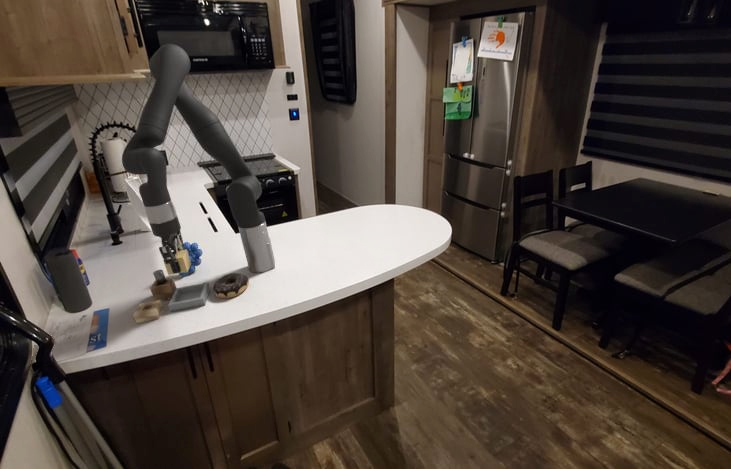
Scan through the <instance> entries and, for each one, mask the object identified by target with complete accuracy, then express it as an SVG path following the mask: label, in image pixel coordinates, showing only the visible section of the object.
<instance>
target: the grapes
mask: <svg viewBox="0 0 731 469" xmlns="http://www.w3.org/2000/svg"><path fill="white" fill-rule="evenodd" d="M183 244H184V247H182V248H183V250H186V249H187V251H188V255H189V258H190V261H191V265H190V267H189V270H188V272H183V273H178V274H179V276H180V277H184V276H186V275H187V274H190V275H191V274H193V273H195V271H196V267H199V266H200V265H201V264H202V259H201V256H202V255H203V250H202V248H199V245H198V243H197V242H192V243H190V242H188V241H186V242H183Z"/></svg>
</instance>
